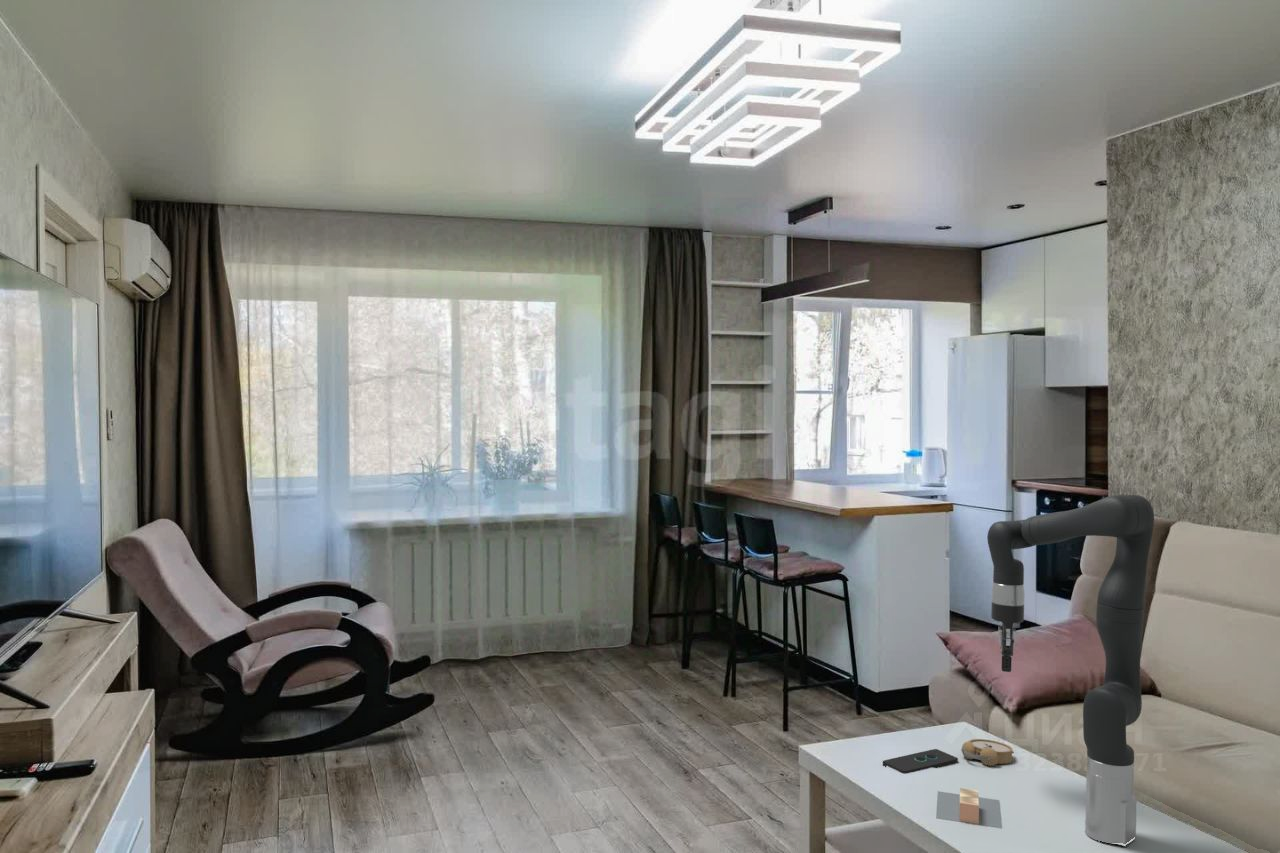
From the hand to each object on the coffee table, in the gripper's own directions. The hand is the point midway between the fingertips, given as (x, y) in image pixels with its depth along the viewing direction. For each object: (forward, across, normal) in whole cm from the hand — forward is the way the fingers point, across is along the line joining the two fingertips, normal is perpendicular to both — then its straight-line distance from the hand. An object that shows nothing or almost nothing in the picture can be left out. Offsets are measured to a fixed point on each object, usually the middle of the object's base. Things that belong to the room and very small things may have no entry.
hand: (1006, 670), depth 228 cm
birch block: (+26, -17, +8) cm, 32 cm away
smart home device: (+30, +8, +20) cm, 37 cm away
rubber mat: (+29, -18, +8) cm, 35 cm away
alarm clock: (+30, +19, +4) cm, 35 cm away
